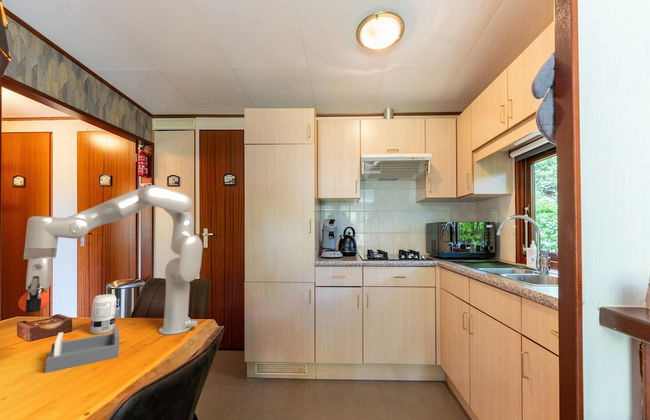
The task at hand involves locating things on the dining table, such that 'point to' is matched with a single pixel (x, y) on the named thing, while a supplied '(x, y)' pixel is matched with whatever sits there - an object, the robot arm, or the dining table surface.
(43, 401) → the dining table surface
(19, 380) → the dining table surface
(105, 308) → the supplement can
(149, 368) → the dining table surface
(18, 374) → the dining table surface
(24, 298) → the clementine
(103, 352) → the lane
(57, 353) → the pusher
